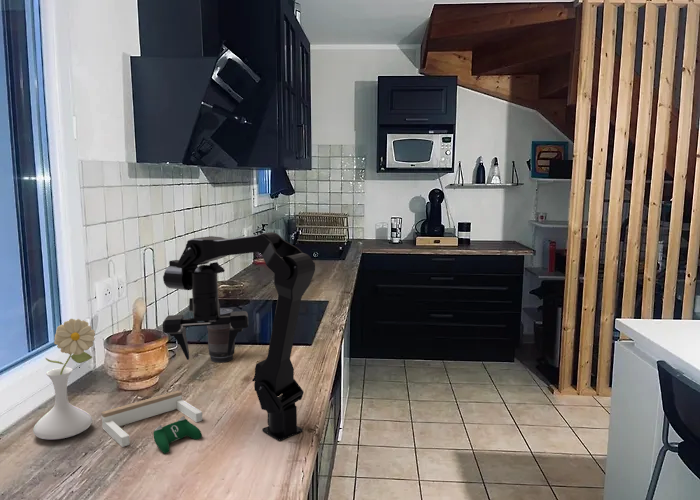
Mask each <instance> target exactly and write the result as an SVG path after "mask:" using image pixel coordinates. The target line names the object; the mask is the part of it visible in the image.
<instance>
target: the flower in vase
mask: <svg viewBox="0 0 700 500" xmlns="http://www.w3.org/2000/svg"><path fill="white" fill-rule="evenodd" d="M95 335H96V332H95V329H92V325H89V322H88V321H86V320H85V319H84V320H81V319H80V318H77V319H75V318H70V319H68V320H66V321H63V324H60V325H58V326H57V327H56V330H55V334H54V342H53V344H54V345H56V346H57V349H60V352H61V353H62V354H63V353H65V354H68V358H67V359H66V360H65V362H62V361H59V360H58V361H57V360H52V359H48V358H47V357H45V360H46V361H47V362H49V363H55V364H60V365H63V366H62V367H58V368H57V367H56V368H53V369H50V370H48V371H47V372H45V375H46V376H47V377H48V378H49V379H50V380H51V383H52V385H53V388H54V397H55V402H54V405H53V407H52V408H51V409H50V410H49V411H48V412H47V413H45V414H44V415H43V416H42V417H41V418H39V420H38V421H36V423H35V425H34V427H33V429H32V432H33V434H34V436H36V437H37V438H39V439H42V440H63V439H65V438H66V439H67V438H70V437H74V436H76V435H78V434H81V433H82V432H85V431H86V430H87V429H88V428H89V427H90V426H91V425H92V423H93V418H92V416H91V414H90V413H88V412H87V411H86V410H84V409H81V408H80V407H77V406H75V405H73V404H72V403H70V402H69V398H68V381H69V378H70V375H71V373H72V372H73V370H74V369H73V368H72V367H67V364H68V363H69V361H70V360H73V361H74V362H75V363H77V364H82V363H85V362H86V361H89V360H91V359H93V356H92V355H91V354H89V353H88V352H86V351H88V350H89V349H90V348H92V347H93V346H94V341H95V339H96V338H95Z"/></svg>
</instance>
